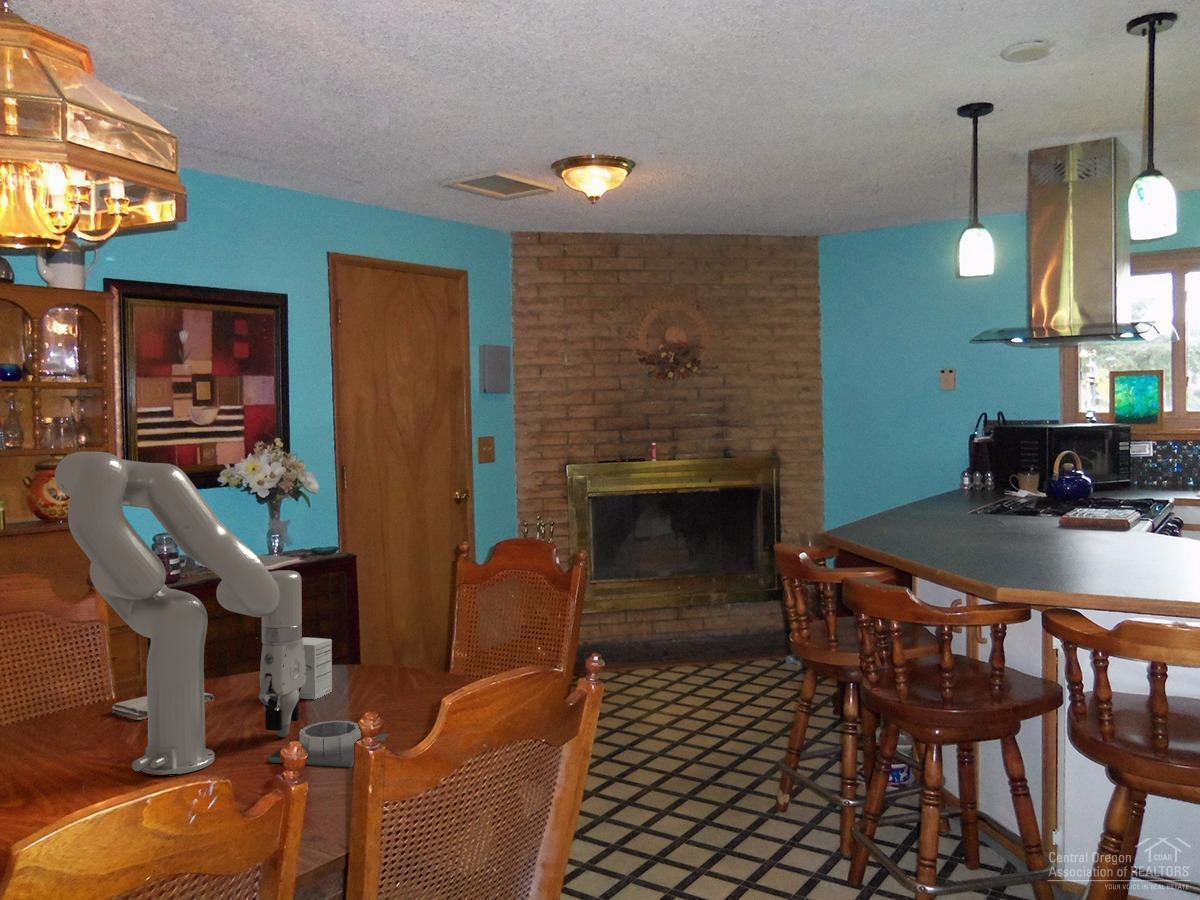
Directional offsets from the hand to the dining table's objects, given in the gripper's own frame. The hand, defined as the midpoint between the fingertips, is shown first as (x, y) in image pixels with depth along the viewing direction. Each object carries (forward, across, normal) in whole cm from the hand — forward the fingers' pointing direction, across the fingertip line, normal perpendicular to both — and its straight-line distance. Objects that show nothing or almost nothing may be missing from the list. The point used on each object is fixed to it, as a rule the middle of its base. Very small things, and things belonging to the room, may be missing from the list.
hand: (282, 724), depth 190 cm
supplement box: (+3, +29, +10) cm, 31 cm away
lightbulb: (+3, 0, 0) cm, 3 cm away
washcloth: (+3, +14, +37) cm, 40 cm away
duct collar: (+3, -6, -13) cm, 15 cm away
